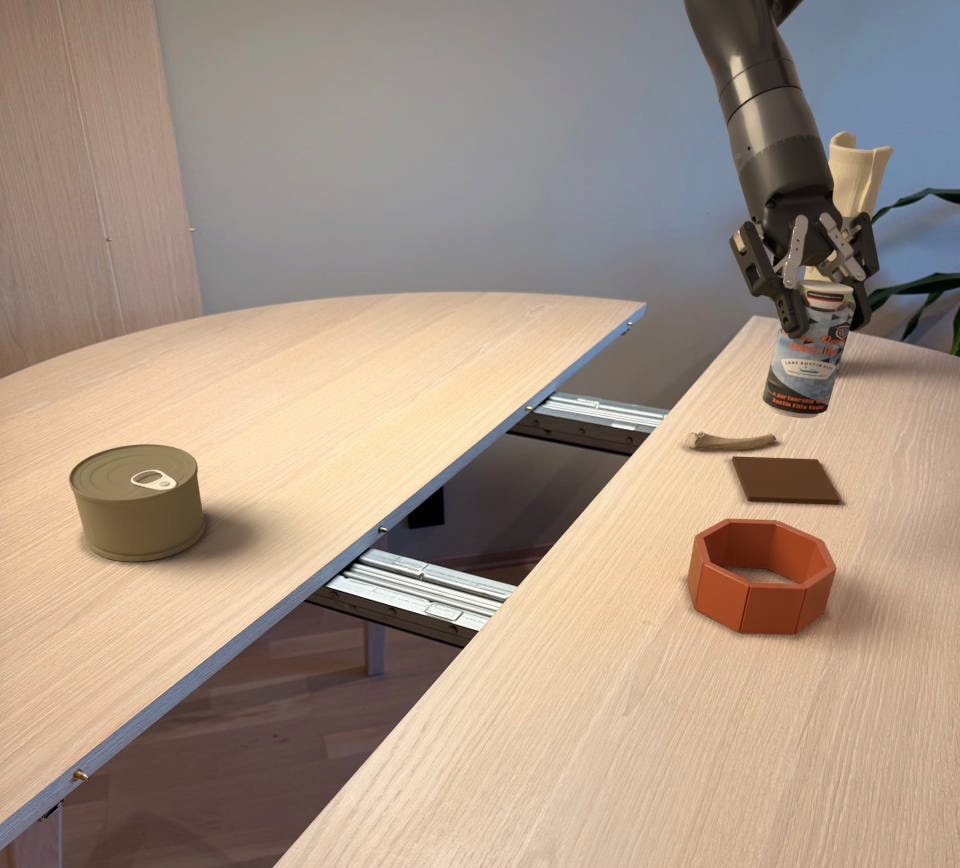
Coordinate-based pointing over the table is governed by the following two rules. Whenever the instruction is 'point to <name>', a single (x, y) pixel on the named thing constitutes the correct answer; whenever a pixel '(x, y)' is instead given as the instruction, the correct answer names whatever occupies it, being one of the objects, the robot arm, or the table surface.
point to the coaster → (784, 480)
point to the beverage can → (810, 352)
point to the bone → (726, 441)
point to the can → (138, 501)
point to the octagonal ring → (754, 601)
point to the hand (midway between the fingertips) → (830, 330)
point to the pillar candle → (853, 182)
